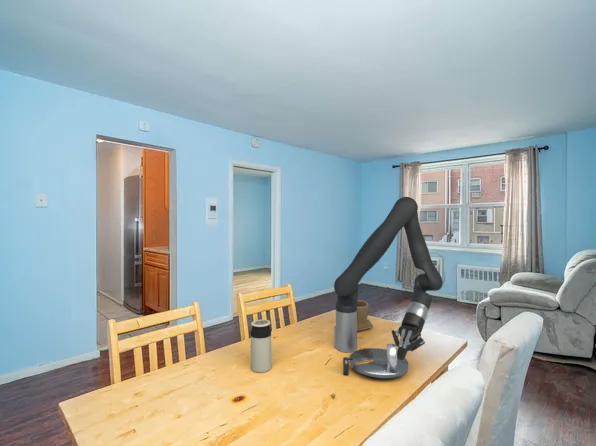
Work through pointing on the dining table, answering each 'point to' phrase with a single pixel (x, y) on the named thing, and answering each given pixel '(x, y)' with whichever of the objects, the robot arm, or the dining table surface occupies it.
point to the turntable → (379, 362)
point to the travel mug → (261, 346)
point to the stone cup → (363, 316)
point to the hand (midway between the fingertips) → (399, 358)
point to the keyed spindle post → (346, 365)
